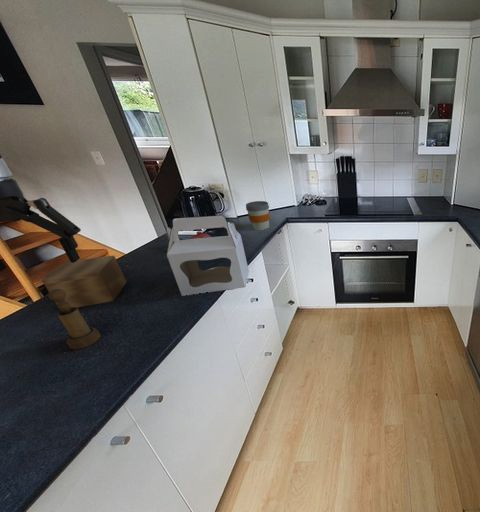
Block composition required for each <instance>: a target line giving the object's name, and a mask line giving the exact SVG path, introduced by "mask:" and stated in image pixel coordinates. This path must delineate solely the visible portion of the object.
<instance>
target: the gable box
mask: <svg viewBox="0 0 480 512" xmlns="http://www.w3.org/2000/svg"><path fill="white" fill-rule="evenodd" d="M219 228H220V229H222V228H224V229H226V231H227V235H223V236H210V237H209V238H197V239H191V238H187V239H181V238H180V236H179V232H183V231H194V230H206V229H207V230H208V229H219ZM166 232H167V237H168V245H167V248H166V249H167V250H166V257H167V260H168V262H169V266H170V269H171V271H172V273H173V277H174V279H175V282H176V285H177V286H178V290H179V292H180V295H181V297H186V295H187V296H193V294H194V295H200V294H199V293H201V294H207V293H206V292H208V293H215V292H222V291H229V290H237V289H242V288H243V289H244V288H246V286H247V283H248V282H247V281H248V277H249V272H250V271H249V266H248V262H247V258H246V253H245V248H244V243H243V240H242V239H243V238H242V235H241V234H240V232H239V231H238V230H237V229H236V225H235V223H234V222H229V221H227V219H226V216H224V215H222V214H220V215H207V216H193V217H192V216H191V217H176V218H173V219H172V227H166ZM222 258H223V259H228V260H230V266H225V265H223V266H222V265H221V266H215V267H212V268H208V269H201V268H200V266H199V265H200V264H199V262H198V261H212V260H217V259H222Z"/></svg>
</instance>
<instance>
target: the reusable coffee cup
mask: <svg viewBox="0 0 480 512" xmlns="http://www.w3.org/2000/svg"><path fill="white" fill-rule="evenodd" d="M245 209H246V211H247V216H248V219H249V222H251V225H252V228H253V230H255V231H264V229H265V230H268V229H269V228H270V219H271V218H270V217H271V216H270V215H271V214H270V205H269V202H268V201H265V200H255V201H250V202H247V203H246V204H245ZM267 228H268V229H267Z"/></svg>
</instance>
